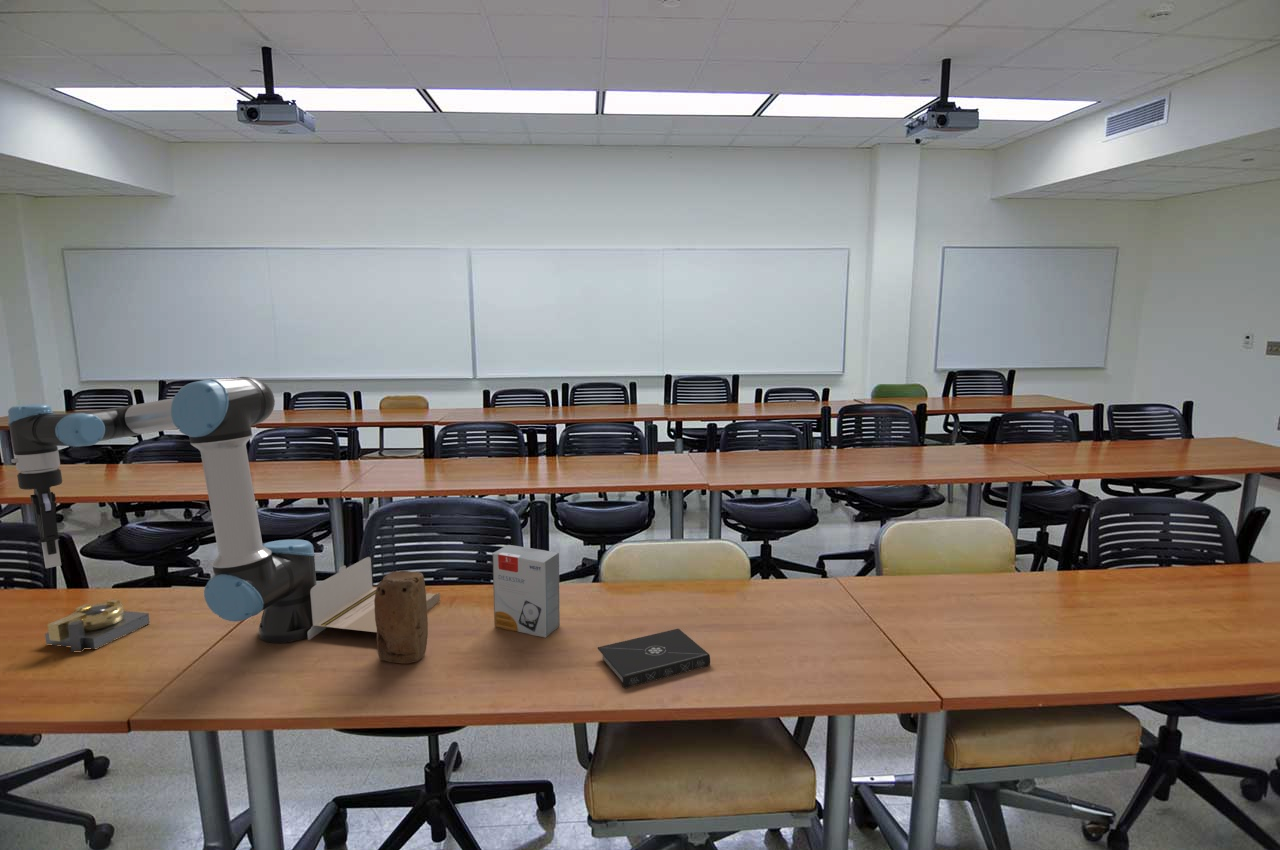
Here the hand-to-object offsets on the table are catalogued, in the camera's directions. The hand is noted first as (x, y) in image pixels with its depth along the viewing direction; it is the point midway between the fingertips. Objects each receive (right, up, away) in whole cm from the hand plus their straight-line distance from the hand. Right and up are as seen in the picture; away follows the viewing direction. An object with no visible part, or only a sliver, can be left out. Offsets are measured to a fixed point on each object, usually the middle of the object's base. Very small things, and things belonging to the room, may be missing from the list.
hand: (53, 566), depth 152 cm
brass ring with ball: (+5, -16, +3) cm, 17 cm away
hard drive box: (+112, -18, +10) cm, 114 cm away
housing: (+6, -19, +5) cm, 20 cm away
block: (+86, -20, -5) cm, 89 cm away
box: (+72, -18, +15) cm, 76 cm away
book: (+144, -21, -7) cm, 146 cm away
